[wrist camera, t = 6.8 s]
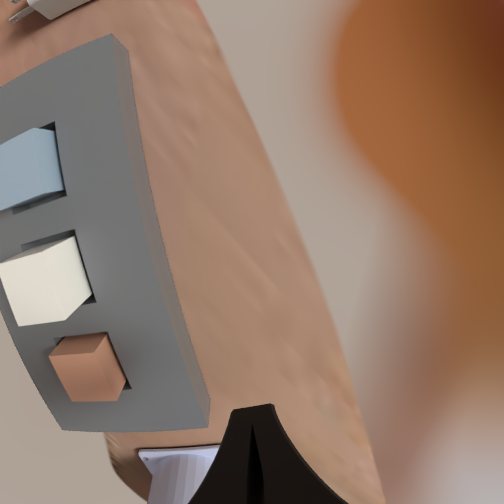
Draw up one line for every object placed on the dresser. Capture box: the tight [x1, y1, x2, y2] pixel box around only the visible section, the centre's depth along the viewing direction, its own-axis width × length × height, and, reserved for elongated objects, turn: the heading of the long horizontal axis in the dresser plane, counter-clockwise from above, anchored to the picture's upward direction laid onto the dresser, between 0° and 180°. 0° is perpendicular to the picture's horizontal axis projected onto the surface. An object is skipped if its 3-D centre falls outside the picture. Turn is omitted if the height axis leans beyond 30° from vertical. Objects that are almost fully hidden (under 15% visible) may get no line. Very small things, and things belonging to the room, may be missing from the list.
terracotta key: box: [49, 332, 127, 402], centre depth 17 cm, size 3×3×4 cm
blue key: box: [0, 128, 66, 211], centre depth 14 cm, size 3×3×4 cm
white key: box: [0, 236, 92, 326], centre depth 14 cm, size 3×3×4 cm
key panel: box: [0, 34, 210, 432], centre depth 17 cm, size 24×12×3 cm, turn 11°
